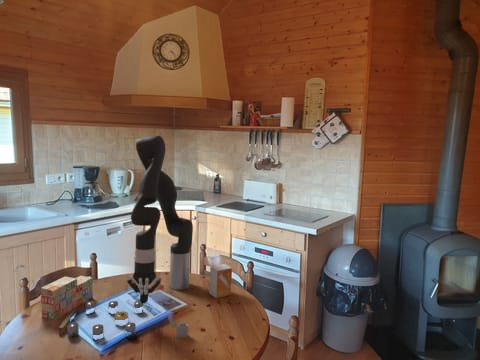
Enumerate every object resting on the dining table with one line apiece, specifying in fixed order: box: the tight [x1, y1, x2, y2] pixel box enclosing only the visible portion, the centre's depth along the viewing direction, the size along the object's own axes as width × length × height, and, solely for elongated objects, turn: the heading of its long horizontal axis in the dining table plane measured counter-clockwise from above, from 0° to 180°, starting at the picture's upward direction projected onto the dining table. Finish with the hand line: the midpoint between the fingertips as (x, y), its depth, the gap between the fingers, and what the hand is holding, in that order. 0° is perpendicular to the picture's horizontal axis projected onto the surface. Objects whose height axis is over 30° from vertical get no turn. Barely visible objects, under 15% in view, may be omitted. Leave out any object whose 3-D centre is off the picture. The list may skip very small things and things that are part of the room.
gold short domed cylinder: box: [114, 311, 129, 321], centre depth 142 cm, size 5×5×4 cm
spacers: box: [66, 300, 144, 339], centre depth 141 cm, size 24×22×4 cm
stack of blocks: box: [40, 275, 94, 321], centre depth 152 cm, size 21×6×12 cm, turn 161°
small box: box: [208, 263, 233, 299], centre depth 170 cm, size 8×6×13 cm
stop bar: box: [58, 307, 78, 335], centre depth 140 cm, size 2×15×2 cm, turn 6°
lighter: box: [167, 314, 189, 339], centre depth 134 cm, size 7×2×8 cm, turn 100°
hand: (143, 302), depth 142 cm, fingers closed
